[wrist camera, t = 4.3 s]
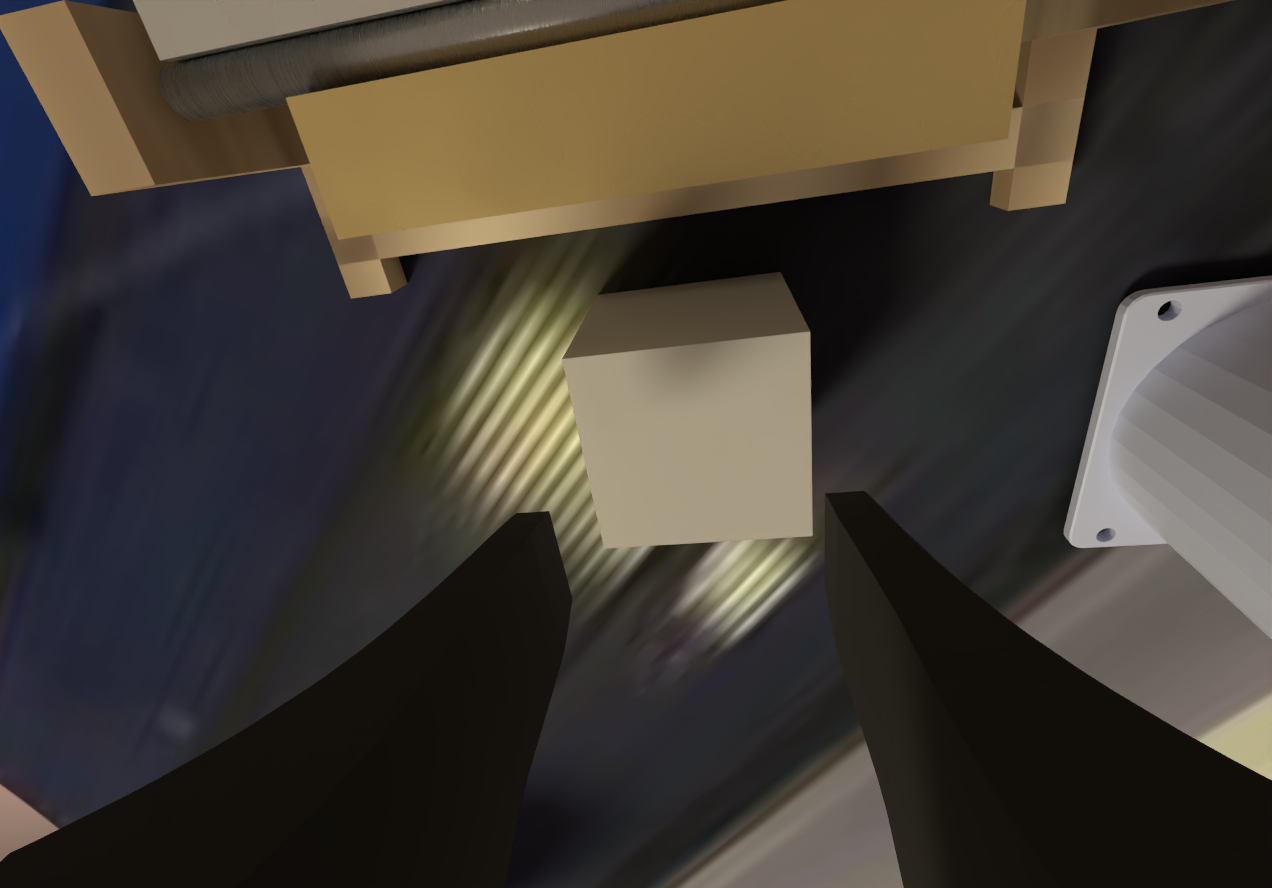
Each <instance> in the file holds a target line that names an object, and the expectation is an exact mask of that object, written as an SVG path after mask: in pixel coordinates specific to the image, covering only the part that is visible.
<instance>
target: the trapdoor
mask: <svg viewBox="0 0 1272 888" xmlns="http://www.w3.org/2000/svg"><path fill="white" fill-rule="evenodd" d="M133 1H134V4H135V6H136V8H137V10H138V13H139V15H140V17H141V19H142V21H143V24H144V26H145V28H146V30H147V33H148V35H149V37H150V39H151V42H152V44H153V46H154V48H155V50H156V53H157V55H158V57H159V59H160V61H171V62H177V63H173V64H168V65H164V66H162V67H161V69H160V71H159V75H158V79H159V85H160V88H161V91H162V93H163V95H164V97H165V99H166V101H167V102H168V104H169V105H170V106H171V108H172V109H173V110H174V111H175V112H176V113H177V114H178V115H179V116H181V117H182V118H184V119H185V120H187V121H190V122H199V121H204V120H210V119H215V118H220V117H225V116H230V115H236V114H241V113H246V112H251V111H256V110H262V109H267V108H272V107H277V106H282V105H288V106H289V109H290V111H291V114H292V117H293V119H294V122H295V125H296V127H297V130H298V133H299V135H300V138H301V141H302V144H303V146H304V149H305V152H306V154H307V157H308V160H309V162H310V165H311V168H312V170H313V173H314V176H315V178H316V181H317V184H318V186H319V189H320V192H321V194H322V197H323V200H324V203H325V205H326V208H327V211H328V213H329V216H330V219H331V221H332V224H333V227H334V229H335V232H336V235H337V237H338V240H339V239H346V238H353V237H359V236H366V235H373V234H379V233H386V232H392V231H399V230H406V229H412V228H419V227H426V226H432V225H439V224H446V223H452V222H459V221H465V220H472V219H479V218H485V217H492V216H499V215H505V214H512V213H519V212H525V211H532V210H538V209H545V208H552V207H558V206H565V205H572V204H578V203H585V202H592V201H598V200H605V199H611V198H618V197H625V196H631V195H638V194H645V193H651V192H658V191H665V190H671V189H678V188H684V187H691V186H698V185H704V184H711V183H718V182H724V181H731V180H738V179H744V178H751V177H757V176H764V175H771V174H777V173H784V172H791V171H797V170H804V169H811V168H817V167H824V166H831V165H837V164H844V163H850V162H857V161H864V160H870V159H877V158H884V157H890V156H897V155H904V154H910V153H917V152H923V151H930V150H937V149H943V148H950V147H957V146H963V145H970V144H977V143H983V142H990V141H996V140H1003V139H1008V136H1009V128H1010V121H1011V113H1012V106H1013V98H1014V91H1015V83H1016V76H1017V68H1018V61H1019V53H1020V46H1021V38H1022V31H1023V23H1024V16H1025V9H1026V1H1027V0H133Z"/></svg>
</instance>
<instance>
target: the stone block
mask: <svg viewBox="0 0 1272 888" xmlns="http://www.w3.org/2000/svg"><path fill="white" fill-rule="evenodd" d="M562 361H563V365H564V370H565V374H566V379H567V383H568V388H569V392H570V397H571V401H572V406H573V410H574V415H575V419H576V424H577V428H578V433H579V437H580V442H581V446H582V451H583V455H584V460H585V464H586V469H587V473H588V478H589V482H590V487H591V491H592V496H593V500H594V505H595V509H596V514H597V518H598V523H599V527H600V532H601V536H602V541H603V545H604V548H620V547H636V546H653V545H670V544H687V543H703V542H720V541H737V540H754V539H770V538H787V537H804V536H812V447H811V354H810V330H809V328H808V326H807V324H806V322H805V320H804V318H803V316H802V314H801V312H800V310H799V308H798V306H797V304H796V302H795V300H794V298H793V296H792V294H791V292H790V290H789V288H788V286H787V284H786V282H785V280H784V278H783V276H782V274H781V272H776V273H768V274H760V275H752V276H744V277H736V278H728V279H720V280H713V281H705V282H697V283H689V284H681V285H673V286H665V287H657V288H650V289H642V290H634V291H626V292H618V293H610V294H602V295H597V297H596V299H595V301H594V303H593V304H592V306H591V308H590V310H589V312H588V313H587V315H586V317H585V319H584V321H583V322H582V324H581V326H580V328H579V330H578V331H577V333H576V335H575V337H574V339H573V340H572V342H571V344H570V346H569V348H568V349H567V351H566V353H565V355H564V357H563V358H562Z"/></svg>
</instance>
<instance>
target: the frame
mask: <svg viewBox="0 0 1272 888" xmlns="http://www.w3.org/2000/svg"><path fill="white" fill-rule="evenodd" d="M1229 1H1233V0H1027V1H1026V9H1025V16H1024V23H1023V31H1022V38H1021V46H1020V53H1019V61H1018V68H1017V76H1016V83H1015V91H1014V98H1013V106H1012V113H1011V121H1010V128H1009V136H1008V139H1003V140H996V141H990V142H983V143H977V144H970V145H963V146H957V147H950V148H943V149H937V150H930V151H923V152H917V153H910V154H904V155H897V156H890V157H884V158H877V159H870V160H864V161H857V162H850V163H844V164H837V165H831V166H824V167H817V168H811V169H804V170H797V171H791V172H784V173H777V174H771V175H764V176H757V177H751V178H744V179H738V180H731V181H724V182H718V183H711V184H704V185H698V186H691V187H684V188H678V189H671V190H665V191H658V192H651V193H645V194H638V195H631V196H625V197H618V198H611V199H605V200H598V201H592V202H585V203H578V204H572V205H565V206H558V207H552V208H545V209H538V210H532V211H525V212H519V213H512V214H505V215H499V216H492V217H485V218H479V219H472V220H465V221H459V222H452V223H446V224H439V225H432V226H426V227H419V228H412V229H406V230H399V231H392V232H386V233H379V234H373V235H366V236H359V237H353V238H346V239H339V240H338V237H337V235H336V232H335V229H334V227H333V224H332V221H331V219H330V216H329V213H328V211H327V208H326V205H325V203H324V200H323V197H322V194H321V192H320V189H319V186H318V184H317V181H316V178H315V176H314V173H313V170H312V168H311V165H310V162H309V160H308V157H307V154H306V152H305V149H304V146H303V144H302V141H301V138H300V135H299V133H298V130H297V127H296V125H295V122H294V119H293V117H292V114H291V111H290V109H289V106H288V105H282V106H277V107H272V108H267V109H262V110H256V111H251V112H246V113H241V114H236V115H230V116H225V117H220V118H215V119H210V120H204V121H199V122H190V121H187V120H185V119H184V118H182V117H181V116H179V115H178V114H177V113H176V112H175V111H174V110H173V109H172V108H171V106H170V105H169V104H168V102H167V101H166V99H165V97H164V95H163V93H162V91H161V88H160V85H159V79H158V75H159V71H160V69H161V67H162V66H164V65H168V64H173V63H177V62H171V61H160V59H159V57H158V55H157V53H156V50H155V48H154V46H153V44H152V42H151V39H150V37H149V35H148V33H147V30H146V28H145V26H144V24H143V21H142V19H141V17H140V15H139V13H134V12H128V11H123V10H117V9H111V8H105V7H99V6H94V5H88V4H82V3H76V2H71V1H65V0H64V1H59V2H55V3H51V4H47V5H43V6H38V7H34V8H30V9H26V10H22V11H17V12H13V13H9V14H5V15H1V16H0V29H1V31H2V33H3V35H4V36H5V38H6V40H7V42H8V44H9V46H10V47H11V49H12V51H13V53H14V55H15V57H16V58H17V60H18V62H19V64H20V66H21V68H22V69H23V71H24V73H25V75H26V77H27V79H28V80H29V82H30V84H31V86H32V88H33V90H34V91H35V93H36V95H37V97H38V99H39V101H40V102H41V104H42V106H43V108H44V110H45V112H46V113H47V115H48V117H49V119H50V121H51V123H52V124H53V126H54V128H55V130H56V132H57V134H58V135H59V137H60V139H61V141H62V143H63V145H64V146H65V148H66V150H67V152H68V154H69V156H70V157H71V159H72V161H73V163H74V165H75V167H76V168H77V170H78V172H79V174H80V176H81V178H82V179H83V181H84V183H85V185H86V187H87V189H88V190H89V192H90V194H91V196H96V195H103V194H110V193H118V192H125V191H132V190H139V189H146V188H153V187H160V186H168V185H175V184H182V183H189V182H196V181H203V180H210V179H217V178H225V177H232V176H239V175H246V174H253V173H260V172H267V171H275V170H282V169H289V168H296V167H301V168H302V171H303V173H304V176H305V179H306V181H307V184H308V186H309V189H310V192H311V194H312V197H313V200H314V202H315V205H316V207H317V210H318V213H319V215H320V218H321V221H322V223H323V226H324V228H325V231H326V234H327V236H328V239H329V242H330V244H331V247H332V250H333V252H334V255H335V257H336V260H337V263H338V265H339V268H340V271H341V273H342V276H343V278H344V281H345V284H346V286H347V289H348V292H349V294H350V297H351V298H358V297H365V296H373V295H380V294H388V293H392V292H394V291H396V290H398V289H399V288H401V287H403V286H404V285H406V284H407V281H406V278H405V275H404V272H403V269H402V266H401V263H400V260H399V257H398V256H405V255H412V254H419V253H426V252H433V251H440V250H447V249H454V248H461V247H468V246H475V245H482V244H489V243H496V242H503V241H510V240H517V239H524V238H531V237H538V236H545V235H552V234H559V233H566V232H573V231H580V230H587V229H594V228H601V227H608V226H615V225H622V224H629V223H636V222H643V221H650V220H657V219H663V218H670V217H677V216H684V215H691V214H698V213H705V212H712V211H719V210H726V209H733V208H740V207H747V206H754V205H761V204H768V203H775V202H782V201H789V200H796V199H803V198H810V197H817V196H824V195H831V194H838V193H845V192H852V191H859V190H866V189H873V188H880V187H887V186H894V185H901V184H908V183H915V182H922V181H929V180H936V179H943V178H950V177H957V176H963V175H970V174H977V173H984V172H991V171H994V174H993V182H992V190H991V198H990V205H992V206H995V207H998V208H1001V209H1004V210H1007V211H1011V210H1018V209H1026V208H1033V207H1041V206H1048V205H1056V204H1063V203H1065V201H1066V196H1067V191H1068V185H1069V180H1070V174H1071V169H1072V163H1073V158H1074V152H1075V147H1076V141H1077V136H1078V130H1079V125H1080V120H1081V114H1082V109H1083V103H1084V98H1085V92H1086V87H1087V81H1088V76H1089V70H1090V65H1091V59H1092V54H1093V49H1094V43H1095V38H1096V32H1097V29H1098V28H1103V27H1108V26H1113V25H1118V24H1122V23H1127V22H1132V21H1137V20H1142V19H1147V18H1151V17H1156V16H1161V15H1166V14H1171V13H1175V12H1180V11H1185V10H1190V9H1195V8H1200V7H1204V6H1209V5H1214V4H1219V3H1224V2H1229Z"/></svg>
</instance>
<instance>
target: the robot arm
mask: <svg viewBox="0 0 1272 888" xmlns="http://www.w3.org/2000/svg"><path fill="white" fill-rule="evenodd" d="M1169 301H1171V306H1170V308H1169V309H1168V311H1166V312H1165V313H1164V314H1163V315H1160V316H1158V311H1159V309H1160V307H1161V306H1162V305H1164V304H1165V303H1166V302H1169ZM1106 528H1107V529H1106ZM1102 529H1106V530H1105V531H1104V532H1102V533H1099V534H1098V532H1099V531H1101V530H1102ZM1064 536H1065V537H1066V538H1067V540H1068V541H1069V542H1070V543H1071V544H1072V545H1073V546H1075V547H1079V548H1092V547H1111V546H1131V545H1150V544H1169V545H1170V546H1171V547H1172V548H1174V549H1175V550H1176V551H1177V552H1178V553H1179V554H1180V555H1181V556H1182V557H1183V558H1184V559H1185V560H1186V561H1188V562H1189V563H1190V564H1191V565H1192V566H1193V567H1194V568H1195V569H1196V570H1197V571H1198V572H1199V573H1201V574H1202V575H1203V576H1204V577H1205V578H1206V579H1207V580H1208V581H1209V582H1210V583H1211V584H1212V585H1213V586H1215V587H1216V588H1217V589H1218V590H1219V591H1220V592H1221V593H1222V594H1223V595H1224V596H1225V597H1226V598H1228V599H1229V600H1230V601H1231V602H1232V603H1233V604H1234V605H1235V606H1236V607H1237V608H1238V609H1239V610H1241V611H1242V612H1243V613H1244V614H1245V615H1246V616H1247V617H1248V618H1249V619H1250V620H1251V621H1252V622H1253V623H1255V624H1256V625H1257V626H1258V627H1259V628H1260V629H1261V630H1262V631H1263V632H1264V633H1265V634H1266V635H1268V636H1269V637H1270V638H1271V639H1272V276H1263V277H1254V278H1245V279H1236V280H1227V281H1218V282H1209V283H1200V284H1190V285H1181V286H1172V287H1163V288H1154V289H1145V290H1141V291H1137V292H1134V293H1132V294H1131V295H1129V296H1127V297H1126V298H1125V299H1124V300H1123V301H1122V302H1121V304H1120V305H1119V307H1118V310H1117V312H1116V316H1115V320H1114V325H1113V329H1112V333H1111V337H1110V341H1109V345H1108V349H1107V354H1106V358H1105V362H1104V366H1103V370H1102V374H1101V378H1100V383H1099V387H1098V391H1097V395H1096V399H1095V403H1094V407H1093V412H1092V416H1091V420H1090V424H1089V428H1088V432H1087V436H1086V441H1085V445H1084V449H1083V453H1082V457H1081V461H1080V465H1079V470H1078V474H1077V478H1076V482H1075V486H1074V490H1073V494H1072V499H1071V503H1070V507H1069V511H1068V515H1067V519H1066V523H1065V528H1064ZM825 593H826V598H827V604H828V609H829V614H830V620H831V625H832V630H833V635H834V640H835V645H836V648H837V651H838V655H839V658H840V661H841V664H842V667H843V671H844V674H845V677H846V680H847V683H848V686H849V690H850V693H851V696H852V699H853V702H854V705H855V708H856V712H857V715H858V718H859V721H860V724H861V727H862V730H863V734H864V737H865V740H866V743H867V746H868V749H869V752H870V756H871V759H872V762H873V765H874V768H875V771H876V774H877V778H878V781H879V785H880V788H881V792H882V795H883V799H884V803H885V806H886V810H887V814H888V818H889V823H890V827H891V832H892V836H893V841H894V845H895V850H896V854H897V859H898V863H899V868H900V872H901V877H902V881H903V886H904V888H1272V780H1270V779H1268V778H1266V777H1264V776H1262V775H1260V774H1258V773H1256V772H1255V771H1253V770H1251V769H1249V768H1247V767H1245V766H1243V765H1241V764H1239V763H1237V762H1236V761H1234V760H1232V759H1230V758H1228V757H1227V756H1225V755H1223V754H1221V753H1219V752H1218V751H1216V750H1214V749H1212V748H1210V747H1209V746H1207V745H1205V744H1203V743H1201V742H1200V741H1198V740H1196V739H1194V738H1192V737H1191V736H1189V735H1187V734H1185V733H1183V732H1182V731H1180V730H1178V729H1176V728H1175V727H1173V726H1171V725H1170V724H1168V723H1166V722H1165V721H1163V720H1161V719H1160V718H1158V717H1156V716H1155V715H1153V714H1151V713H1150V712H1148V711H1146V710H1145V709H1143V708H1141V707H1140V706H1138V705H1136V704H1135V703H1133V702H1131V701H1130V700H1128V699H1126V698H1125V697H1123V696H1121V695H1120V694H1118V693H1116V692H1114V691H1113V690H1111V689H1110V688H1108V687H1107V686H1105V685H1103V684H1102V683H1100V682H1099V681H1097V680H1096V679H1094V678H1092V677H1091V676H1089V675H1088V674H1086V673H1085V672H1083V671H1082V670H1080V669H1078V668H1077V667H1076V666H1074V665H1073V664H1071V663H1070V662H1068V661H1067V660H1065V659H1064V658H1062V657H1061V656H1059V655H1058V654H1057V653H1055V652H1054V651H1052V650H1051V649H1049V648H1048V647H1046V646H1045V645H1043V644H1042V643H1040V642H1039V641H1038V640H1036V639H1035V638H1033V637H1032V636H1030V635H1029V634H1028V633H1026V632H1025V631H1023V630H1022V629H1021V628H1019V627H1018V626H1017V625H1015V624H1014V623H1012V622H1011V621H1010V620H1008V619H1007V618H1006V617H1004V616H1003V615H1002V614H1001V613H999V612H998V611H997V610H996V609H994V608H993V607H992V606H991V605H989V604H988V603H987V602H986V601H984V600H983V599H982V598H981V597H979V596H978V595H977V594H976V593H974V592H973V591H972V590H971V589H970V588H968V587H967V586H966V585H965V584H964V583H962V582H961V581H960V580H959V579H958V578H957V577H956V576H954V575H953V574H952V573H951V572H950V571H949V570H948V569H946V568H945V567H944V566H943V565H942V564H941V563H940V562H939V561H937V560H936V559H935V558H934V557H933V556H932V555H931V554H930V553H928V552H927V551H926V550H925V549H924V548H923V547H922V546H921V545H920V544H919V543H918V542H917V541H915V540H914V539H913V538H912V537H911V536H910V535H909V534H908V533H907V532H906V531H905V530H904V529H903V528H902V527H901V526H900V525H899V524H898V523H897V522H896V521H895V520H894V519H893V518H892V517H891V516H890V515H889V514H888V513H887V512H886V511H885V510H884V509H883V508H882V507H881V506H880V505H879V504H878V503H877V502H876V501H875V500H874V499H873V498H872V497H871V496H869V495H868V494H867V493H866V492H865V491H857V492H841V493H826V494H825ZM571 604H572V596H571V592H570V588H569V585H568V581H567V577H566V573H565V570H564V566H563V562H562V558H561V555H560V551H559V547H558V543H557V540H556V536H555V532H554V528H553V524H552V521H551V517H550V513H549V511H546V512H531V513H516V514H515V515H514V516H513V517H511V518H510V519H509V520H508V521H507V522H506V523H504V524H503V525H502V526H501V527H500V528H499V529H498V530H497V531H496V532H495V533H494V534H493V535H492V536H491V537H489V538H488V539H487V540H486V541H485V542H484V543H483V544H482V545H481V546H480V547H479V548H478V549H477V550H476V551H475V552H474V553H473V554H472V555H471V556H470V557H468V558H467V559H466V560H465V561H464V562H463V563H462V564H461V565H460V566H459V567H458V568H457V569H456V570H454V571H453V572H452V573H451V574H450V575H449V576H448V577H447V578H446V579H445V580H444V581H443V582H442V583H441V584H439V585H438V586H437V587H436V588H435V589H434V590H433V591H432V592H430V593H429V594H428V595H427V596H426V597H425V598H423V599H422V600H421V601H420V602H419V603H418V604H416V605H415V606H414V607H413V608H412V609H411V610H409V611H408V612H407V613H406V614H405V615H404V616H402V617H401V618H400V619H399V620H398V621H397V622H395V623H394V624H393V625H392V626H391V627H390V628H388V629H387V630H386V631H385V632H384V633H382V634H381V635H380V636H379V637H377V638H376V639H375V640H374V641H372V642H371V643H370V644H368V645H367V646H366V647H364V648H363V649H362V650H361V651H359V652H358V653H357V654H355V655H354V656H353V657H351V658H350V659H348V660H347V661H346V662H344V663H343V664H342V665H340V666H339V667H337V668H336V669H335V670H333V671H332V672H331V673H329V674H328V675H327V676H325V677H324V678H322V679H321V680H319V681H318V682H317V683H315V684H314V685H312V686H311V687H309V688H308V689H306V690H305V691H303V692H301V693H300V694H298V695H297V696H295V697H294V698H292V699H291V700H289V701H288V702H286V703H284V704H283V705H281V706H280V707H278V708H277V709H275V710H274V711H272V712H271V713H269V714H267V715H266V716H264V717H263V718H261V719H260V720H258V721H257V722H255V723H254V724H252V725H250V726H249V727H247V728H246V729H244V730H242V731H241V732H239V733H238V734H236V735H234V736H233V737H231V738H229V739H227V740H226V741H224V742H222V743H221V744H219V745H217V746H215V747H214V748H212V749H210V750H209V751H207V752H205V753H203V754H202V755H200V756H198V757H197V758H195V759H193V760H191V761H189V762H188V763H186V764H184V765H182V766H180V767H179V768H177V769H175V770H173V771H171V772H170V773H168V774H166V775H164V776H162V777H161V778H159V779H157V780H155V781H153V782H151V783H149V784H148V785H146V786H144V787H142V788H140V789H138V790H136V791H134V792H132V793H131V794H129V795H127V796H125V797H123V798H121V799H119V800H117V801H115V802H113V803H111V804H109V805H107V806H105V807H103V808H101V809H99V810H97V811H95V812H93V813H91V814H89V815H87V816H85V817H83V818H81V819H79V820H77V821H75V822H73V823H71V824H69V825H67V826H65V827H63V828H61V829H59V830H57V831H55V832H53V833H51V834H49V835H47V836H45V837H43V838H41V839H39V840H37V841H35V842H33V843H30V844H28V845H26V846H24V847H22V848H20V849H18V850H15V851H13V852H11V853H10V854H8V855H7V856H6V857H5V858H4V859H3V860H2V861H1V862H0V888H505V885H506V879H507V873H508V868H509V863H510V858H511V852H512V847H513V842H514V837H515V832H516V827H517V821H518V816H519V811H520V806H521V802H522V798H523V794H524V790H525V786H526V782H527V778H528V774H529V771H530V767H531V764H532V761H533V757H534V754H535V750H536V747H537V744H538V740H539V737H540V733H541V730H542V727H543V723H544V720H545V716H546V713H547V710H548V706H549V703H550V699H551V696H552V693H553V689H554V686H555V682H556V679H557V675H558V672H559V668H560V665H561V661H562V657H563V654H564V649H565V643H566V637H567V631H568V625H569V618H570V611H571Z"/></svg>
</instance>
